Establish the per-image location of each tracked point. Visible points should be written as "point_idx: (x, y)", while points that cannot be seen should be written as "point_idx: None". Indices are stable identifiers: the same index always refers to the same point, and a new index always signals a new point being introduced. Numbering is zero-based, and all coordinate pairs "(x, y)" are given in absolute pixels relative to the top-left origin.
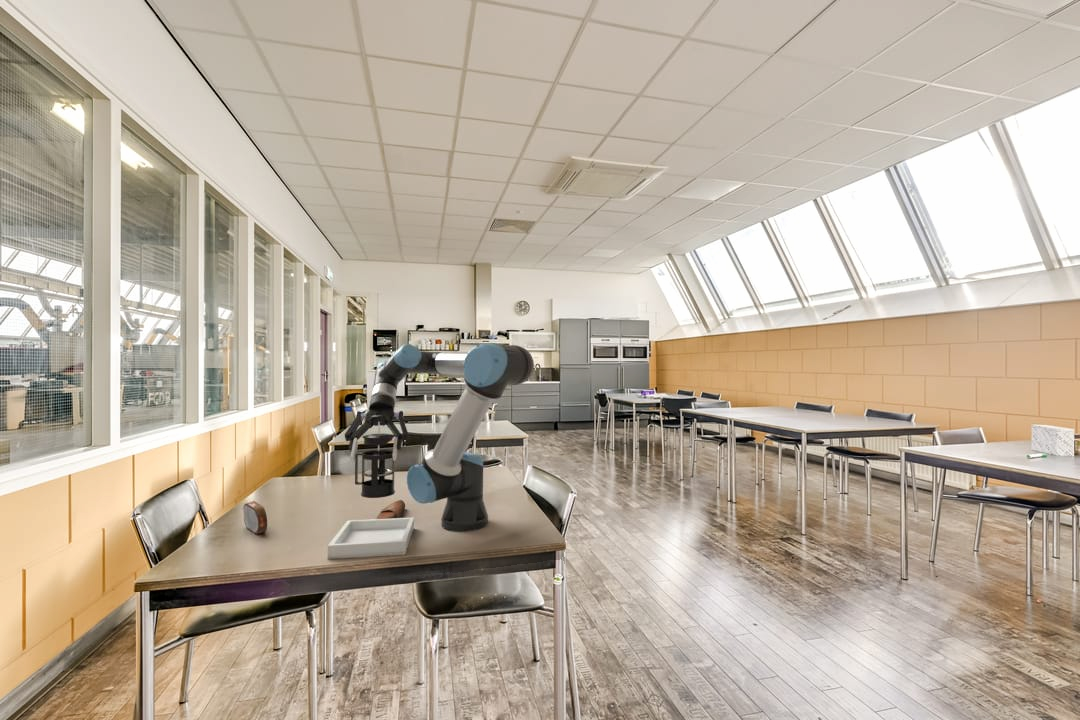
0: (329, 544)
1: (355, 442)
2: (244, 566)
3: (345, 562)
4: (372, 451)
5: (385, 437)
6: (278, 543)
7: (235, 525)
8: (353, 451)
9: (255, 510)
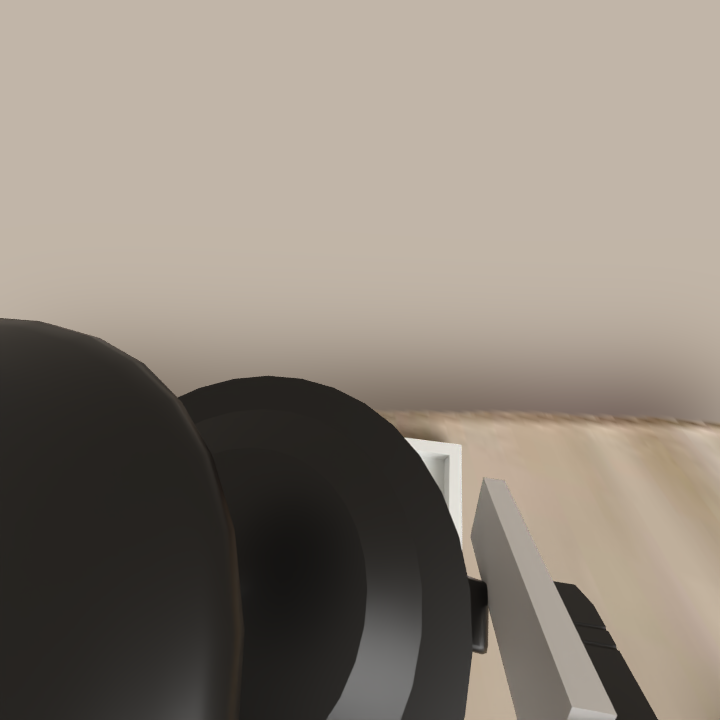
0: (459, 453)
1: (541, 614)
2: (633, 460)
3: (409, 421)
4: None
5: (184, 406)
6: (651, 644)
7: None
8: (501, 511)
9: None
